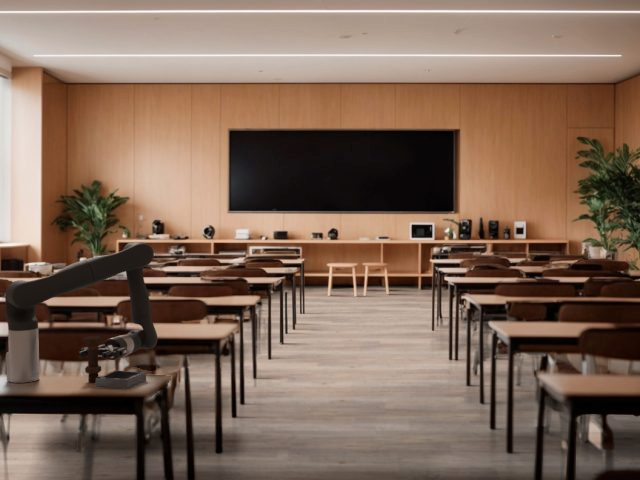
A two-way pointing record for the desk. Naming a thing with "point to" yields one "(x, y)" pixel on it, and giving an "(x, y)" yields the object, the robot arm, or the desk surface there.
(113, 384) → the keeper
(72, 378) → the desk surface
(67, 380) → the desk surface
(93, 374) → the bolt
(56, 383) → the desk surface
